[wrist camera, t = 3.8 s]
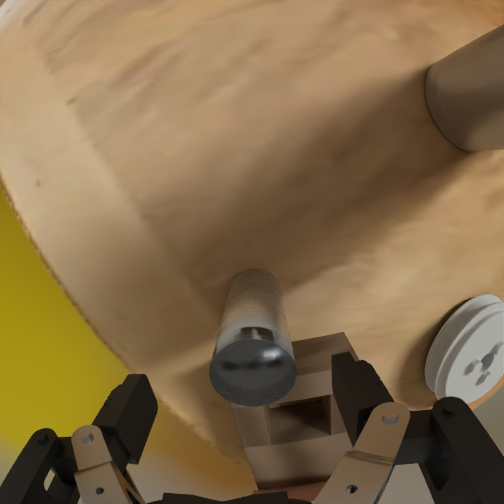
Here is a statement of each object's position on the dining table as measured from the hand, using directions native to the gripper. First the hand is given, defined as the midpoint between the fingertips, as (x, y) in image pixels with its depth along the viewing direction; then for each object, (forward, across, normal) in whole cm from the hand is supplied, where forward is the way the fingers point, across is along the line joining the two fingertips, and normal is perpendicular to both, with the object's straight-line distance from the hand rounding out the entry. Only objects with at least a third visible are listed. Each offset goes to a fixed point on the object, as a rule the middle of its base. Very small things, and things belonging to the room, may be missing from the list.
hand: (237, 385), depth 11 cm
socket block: (+12, -3, +13) cm, 18 cm away
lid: (+12, -23, +11) cm, 28 cm away
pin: (+12, -1, 0) cm, 12 cm away
